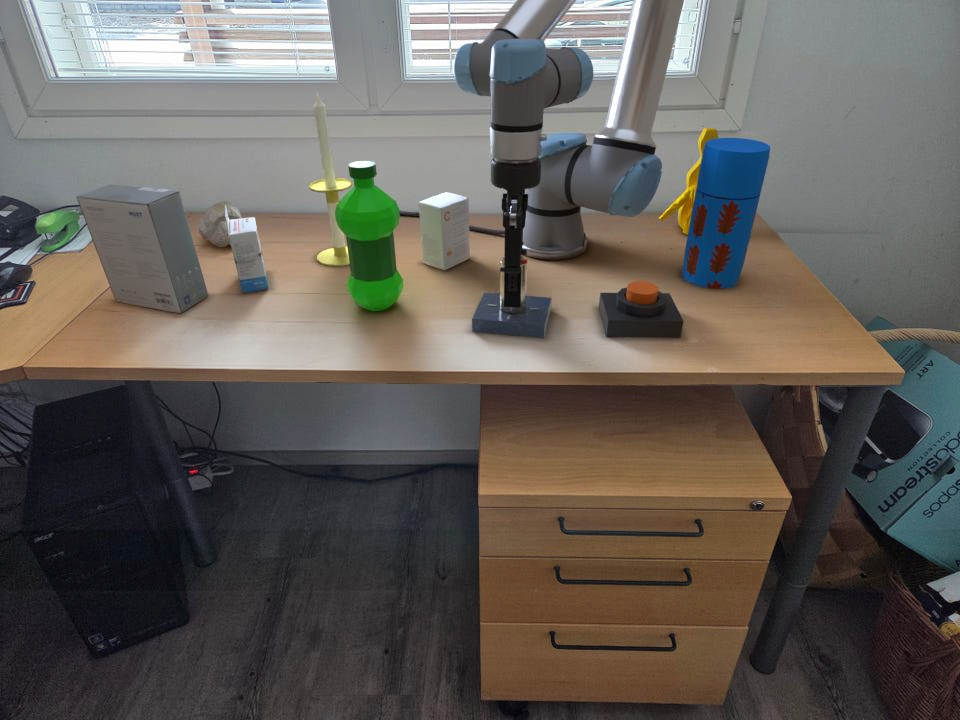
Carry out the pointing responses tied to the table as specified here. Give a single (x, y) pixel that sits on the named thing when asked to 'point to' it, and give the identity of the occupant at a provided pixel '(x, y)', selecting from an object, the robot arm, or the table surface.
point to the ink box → (247, 253)
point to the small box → (445, 230)
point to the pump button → (642, 292)
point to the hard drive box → (144, 246)
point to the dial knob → (523, 288)
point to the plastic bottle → (370, 239)
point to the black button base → (639, 316)
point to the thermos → (724, 211)
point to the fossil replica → (218, 223)
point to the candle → (329, 191)
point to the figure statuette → (690, 186)
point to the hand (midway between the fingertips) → (513, 298)
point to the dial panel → (512, 317)
